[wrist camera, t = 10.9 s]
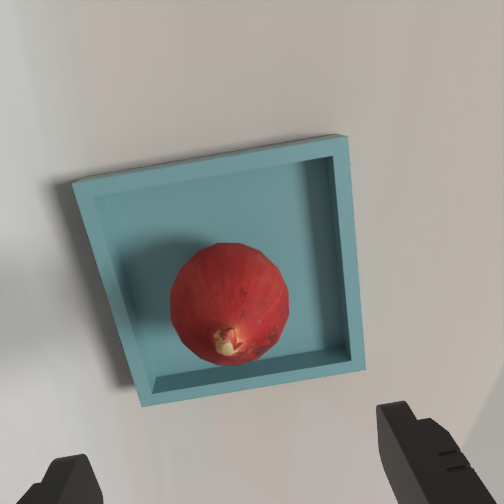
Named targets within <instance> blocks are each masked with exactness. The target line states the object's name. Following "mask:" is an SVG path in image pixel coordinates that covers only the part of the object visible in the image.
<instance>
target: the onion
mask: <svg viewBox="0 0 504 504" xmlns="http://www.w3.org/2000/svg"><path fill="white" fill-rule="evenodd" d="M288 317H289V293H288V288H287V285H286V283H285V281H284V279H283V277H282V275H281V273H280V270H279V268H278V267H277V266H276V265H274V264H273V263H272V262H271V261H270V260H269V259H268V258H267V257H266V256H265V255H264V254H263V253H262V252H261V251H260V250H258V249H255V248H252V247H250V246H247V245H244V244H241V243H216V244H214V245H212V246H209V247H207V248H204V249H202V250H200V251H198V252H197V253H195V254H194V255H193V256H192V257H191V258H190V259H189V260H188V261H187V262H186V263H185V264H184V265H183V266H182V268H181V269H180V271H179V272H178V274H177V277H176V279H175V281H174V284H173V286H172V288H171V290H170V319H171V322H172V324H173V326H174V328H175V330H176V332H177V334H178V336H179V338H180V340H181V342H182V343H183V344H184V345H185V346H186V347H187V348H188V349H189V350H191V351H192V352H193V353H194V354H195V355H196V356H198V357H199V358H200V359H202V360H205V361H207V362H210V363H213V364H215V365H219V366H240V365H243V364H245V363H248V362H251V361H254V360H257V359H259V358H260V357H261V356H262V355H263V354H265V353H266V352H267V351H268V350H269V349H270V348H272V347H273V346H274V345H275V344H276V343H277V342H278V341H279V338H280V336H281V333H282V331H283V329H284V326H285V324H286V322H287V319H288Z"/></svg>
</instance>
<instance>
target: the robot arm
mask: <svg viewBox="0 0 504 504" xmlns="http://www.w3.org/2000/svg"><path fill="white" fill-rule="evenodd" d="M376 415H377V430H378V445H379V453H380V457H381V461H382V465H383V468H384V471H385V473H386V476H387V478H388V480H389V483H390V485H391V487H392V490H393V492H394V494H395V497H396V499H397V501H398V504H497V503H496V502H495V500H494V499H493V497H492V496H491V494H490V493H489V491H488V490H487V489H486V487H485V485H484V484H483V482H482V481H481V480H480V478H479V477H478V475H477V474H476V472H475V471H474V469H473V468H471V466H470V463H469V462H468V460H467V459H466V457H465V456H464V454H463V453H461V451H460V448H459V447H458V445H457V444H456V442H455V441H454V439H453V438H452V436H451V435H450V433H449V432H448V431H447V430H446V429H444V428H443V427H442V426H440V425H439V424H438V423H436V422H435V421H434V420H432V419H431V418H427V419H421V420H417V419H416V417H415V415H414V414H413V412H412V410H411V409H410V407H409V405H408V404H407V403H406V402H405V401H399V402H393V403H387V404H381V405H377V407H376ZM16 504H103V495H102V492H101V489H100V487H99V484H98V482H97V479H96V477H95V474H94V472H93V469H92V467H91V464H90V462H89V459H88V457H87V456H86V455H85V454H79V455H73V456H68V457H62V458H56V459H54V460H53V461H52V462H51V464H50V466H49V468H48V470H47V472H46V474H45V476H44V478H43V480H42V482H41V483H35V484H33V485H32V486H31V487H30V489H29V490H28V491H27V492H26V493H25V494H24V495H23V496H22V498H21V499H20V500H19V501H18V502H17V503H16Z"/></svg>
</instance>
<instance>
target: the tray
mask: <svg viewBox="0 0 504 504" xmlns="http://www.w3.org/2000/svg"><path fill="white" fill-rule="evenodd" d="M71 184H72V187H73V190H74V194H75V197H76V200H77V203H78V206H79V210H80V213H81V216H82V219H83V222H84V225H85V229H86V232H87V235H88V238H89V241H90V244H91V248H92V251H93V254H94V257H95V260H96V263H97V267H98V270H99V273H100V276H101V279H102V282H103V286H104V289H105V292H106V295H107V298H108V301H109V305H110V308H111V311H112V314H113V317H114V320H115V324H116V327H117V330H118V333H119V336H120V340H121V343H122V346H123V349H124V352H125V355H126V359H127V362H128V365H129V368H130V371H131V374H132V378H133V381H134V384H135V387H136V390H137V393H138V397H139V400H140V403H141V406H142V407H146V406H152V405H158V404H164V403H170V402H176V401H182V400H188V399H194V398H200V397H206V396H212V395H218V394H224V393H230V392H236V391H242V390H248V389H254V388H260V387H266V386H272V385H278V384H284V383H290V382H296V381H302V380H308V379H314V378H320V377H326V376H332V375H338V374H344V373H350V372H356V371H362V370H366V364H365V351H364V338H363V326H362V313H361V300H360V287H359V274H358V261H357V248H356V236H355V223H354V210H353V197H352V184H351V171H350V158H349V146H348V136H344V135H340V134H332V135H327V136H321V137H315V138H309V139H303V140H297V141H292V142H286V143H280V144H274V145H268V146H262V147H257V148H251V149H245V150H239V151H233V152H227V153H222V154H216V155H210V156H204V157H198V158H192V159H187V160H181V161H175V162H169V163H163V164H157V165H152V166H146V167H140V168H134V169H128V170H122V171H116V172H111V173H105V174H99V175H93V176H87V177H85V178H83V179H80V180H78V181H76V182H74V183H71ZM216 243H241V244H244V245H247V246H250V247H252V248H255V249H258V250H260V251H261V252H262V253H263V254H264V255H265V256H266V257H267V258H268V259H269V260H270V261H271V262H272V263H273V264H274V265H276V266H277V267H278V268H279V270H280V273H281V275H282V277H283V279H284V281H285V283H286V285H287V288H288V293H289V317H288V319H287V322H286V324H285V326H284V329H283V331H282V333H281V336H280V338H279V341H278V342H277V343H276V344H275V345H274V346H273V347H272V348H270V349H269V350H268V351H267V352H266V353H265V354H263V355H262V356H261V357H260V358H259V359H257V360H254V361H251V362H248V363H245V364H243V365H240V366H219V365H215V364H213V363H210V362H207V361H205V360H202V359H200V358H199V357H198V356H196V355H195V354H194V353H193V352H192V351H191V350H189V349H188V348H187V347H186V346H185V345H184V344H183V343H182V342H181V340H180V338H179V336H178V334H177V332H176V330H175V328H174V326H173V324H172V322H171V319H170V290H171V288H172V286H173V284H174V281H175V279H176V277H177V274H178V272H179V271H180V269H181V268H182V266H183V265H184V264H185V263H186V262H187V261H188V260H189V259H190V258H191V257H192V256H193V255H194V254H195V253H197V252H198V251H200V250H202V249H204V248H207V247H209V246H212V245H214V244H216Z"/></svg>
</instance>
